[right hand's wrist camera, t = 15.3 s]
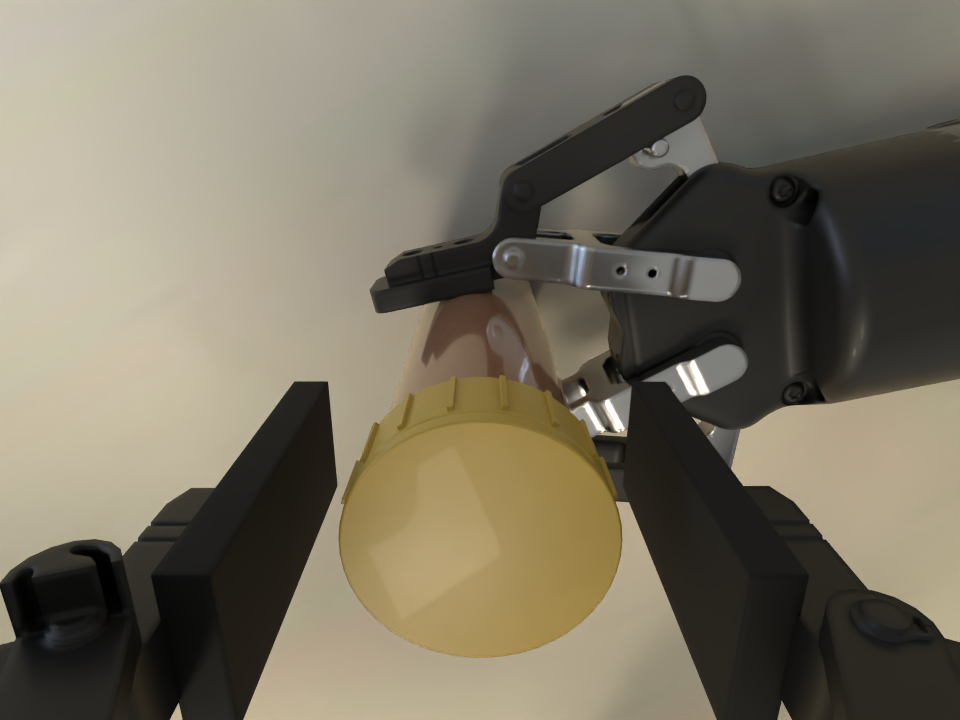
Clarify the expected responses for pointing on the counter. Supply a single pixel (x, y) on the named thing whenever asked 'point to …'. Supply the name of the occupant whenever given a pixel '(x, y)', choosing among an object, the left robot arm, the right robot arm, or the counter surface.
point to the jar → (482, 342)
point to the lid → (480, 519)
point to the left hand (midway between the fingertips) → (399, 368)
